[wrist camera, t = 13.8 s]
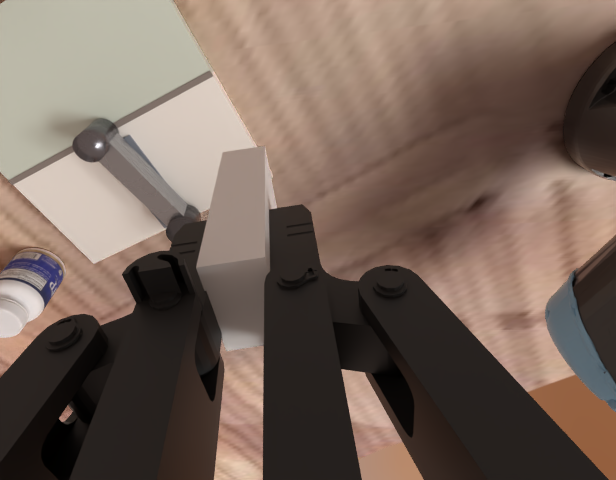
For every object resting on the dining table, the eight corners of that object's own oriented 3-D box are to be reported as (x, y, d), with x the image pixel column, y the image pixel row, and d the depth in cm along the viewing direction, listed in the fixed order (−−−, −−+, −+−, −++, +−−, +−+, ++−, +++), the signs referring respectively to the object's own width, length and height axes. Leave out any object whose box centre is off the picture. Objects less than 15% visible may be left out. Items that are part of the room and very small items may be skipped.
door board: (272, 173, 41) (272, 179, 40) (97, 257, 45) (93, 264, 43) (129, -76, 29) (124, -78, 28) (-93, 67, 33) (-105, 71, 32)
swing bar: (82, 129, 35) (63, 146, 32) (105, 111, 35) (88, 126, 31) (186, 230, 42) (179, 253, 39) (207, 217, 41) (202, 238, 38)
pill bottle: (56, 290, 47) (17, 350, 39) (7, 270, 44) (-43, 329, 37) (74, 260, 45) (37, 318, 37) (24, 237, 42) (-26, 293, 35)
